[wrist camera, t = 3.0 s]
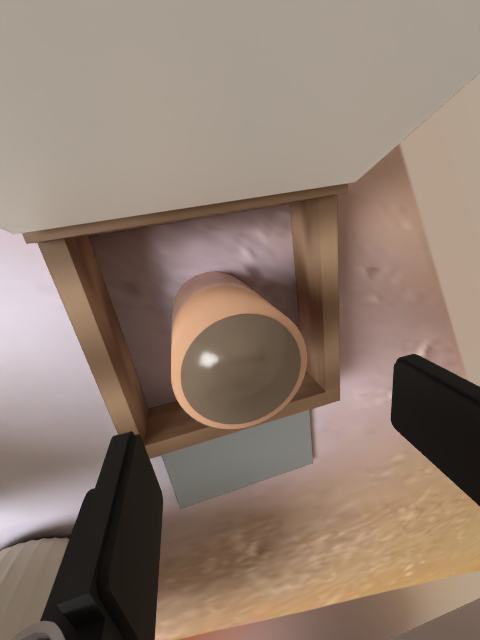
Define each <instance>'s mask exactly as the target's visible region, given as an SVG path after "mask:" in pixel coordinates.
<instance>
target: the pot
mask: <svg viewBox="0 0 480 640" xmlns="http://www.w3.org/2000/svg"><path fill="white" fill-rule="evenodd" d="M306 367H307V350H306V345H305V342H304V339H303V337H302V334H301V332H300V331H299V329H298V328H297V326H296V325H295V324H294V323H293V322H292V321H291V320H290V319H289V318H287V317H286V316H285V315H284V314H282V313H281V312H280V311H279V310H277V309H276V308H275V307H274V306H272V305H271V304H270V303H268V302H267V301H266V300H265V299H263V298H262V297H261V296H259V295H258V294H257V293H256V292H254V291H253V290H252V289H250V288H249V287H248V286H247V285H245V284H244V283H243V282H242V281H240V280H239V279H238V278H236V277H234V276H232V275H230V274H227V273H223V272H206V273H203V274H200V275H197V276H195V277H193V278H192V279H190V280H189V281H187V282H186V283H185V284H184V285H183V286H182V287H181V289H180V290H179V291H178V293H177V295H176V297H175V299H174V303H173V307H172V343H171V383H172V388H173V391H174V394H175V397H176V399H177V401H178V402H179V404H180V406H181V407H182V408H183V409H184V410H185V412H187V413H188V414H189V415H190V416H191V417H192V418H194V419H195V420H197V421H199V422H201V423H203V424H205V425H208V426H211V427H215V428H221V429H239V428H245V427H249V426H253V425H256V424H258V423H261V422H263V421H265V420H267V419H269V418H271V417H272V416H274V415H275V414H277V413H278V412H279V411H281V410H282V409H283V408H284V407H285V406H286V405H287V404H288V403H289V402H290V401H291V400H292V398H293V397H294V396H295V394H296V393H297V391H298V389H299V388H300V386H301V384H302V381H303V379H304V376H305V372H306Z"/></svg>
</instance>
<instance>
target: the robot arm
mask: <svg viewBox="0 0 480 640" xmlns="http://www.w3.org/2000/svg"><path fill="white" fill-rule="evenodd" d="M391 422H392V425H393V427H394V428H395V429H396V430H397V431H398V432H399V433H400V434H401V435H402V436H403V437H405V438H406V439H407V440H408V441H409V442H410V443H411V444H412V445H413V446H414V447H415V448H417V449H418V450H419V451H420V452H421V453H422V454H423V455H424V456H425V457H426V458H427V459H429V460H430V461H431V462H432V463H433V464H434V465H435V466H436V467H437V468H438V469H440V470H441V471H442V472H443V473H444V474H445V475H446V476H447V477H448V478H449V479H450V480H452V481H453V482H454V483H455V484H456V485H457V486H458V487H459V488H460V489H461V490H463V491H464V492H465V493H466V494H467V495H468V496H469V497H470V498H471V499H472V500H473V501H475V502H476V503H477V504H478V505H479V506H480V387H479V386H477V385H475V384H473V383H471V382H469V381H467V380H465V379H463V378H461V377H459V376H458V375H456V374H454V373H452V372H450V371H448V370H446V369H444V368H442V367H440V366H438V365H436V364H434V363H432V362H430V361H428V360H427V359H425V358H423V357H421V356H419V355H416V354H411V355H407V356H404V357H400V358H398V359H397V361H396V363H395V364H394V373H393V390H392V407H391ZM162 512H163V496H162V492H161V489H160V486H159V483H158V481H157V478H156V475H155V473H154V470H153V467H152V464H151V462H150V459H149V456H148V454H147V451H146V448H145V446H144V443H143V440H142V438H141V435H140V434H137V435H135V434H134V433H133V432H132V431H130V432H127V433H123V434H119V435H116V436H113V437H112V439H111V442H110V445H109V448H108V451H107V454H106V457H105V460H104V463H103V466H102V469H101V472H100V475H99V478H98V481H97V484H96V487H95V489H91V490H89V491H88V493H87V494H86V496H85V498H84V500H83V503H82V506H81V509H80V511H79V514H78V517H77V520H76V523H75V525H74V528H73V531H72V534H71V536H70V539H69V542H68V545H67V548H66V550H65V553H64V556H63V559H62V561H61V564H60V567H59V570H58V573H57V575H56V578H55V581H54V584H53V586H52V589H51V592H50V595H49V598H48V600H47V603H46V606H45V609H44V611H43V614H42V617H41V620H40V622H38V623H34V624H32V625H30V626H29V627H27V628H25V629H24V630H22V631H20V632H19V633H18V634H17V635H15V636H14V637H13V638H12V639H11V640H155V624H156V608H157V592H158V576H159V560H160V544H161V528H162ZM389 640H480V598H479V599H477V600H475V601H473V602H470V603H468V604H466V605H464V606H462V607H459V608H457V609H455V610H453V611H451V612H448V613H446V614H444V615H442V616H440V617H438V618H436V619H433V620H431V621H429V622H426V623H424V624H422V625H420V626H418V627H416V628H413V629H412V630H409V631H407V632H405V633H402V634H400V635H398V636H396V637H394V638H392V639H389Z"/></svg>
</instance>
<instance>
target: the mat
mask: <svg viewBox="0 0 480 640" xmlns="http://www.w3.org/2000/svg"><path fill="white" fill-rule="evenodd" d="M162 458H163V461H164V464H165V466H166V469H167V472H168V475H169V478H170V480H171V483H172V486H173V489H174V492H175V494H176V497H177V500H178V503H179V506H180V509H182V508H184V507H187V506H190V505H193V504H196V503H199V502H202V501H205V500H208V499H210V498H213V497H216V496H219V495H222V494H225V493H228V492H231V491H234V490H237V489H239V488H242V487H245V486H248V485H251V484H254V483H257V482H260V481H263V480H265V479H268V478H271V477H274V476H277V475H280V474H283V473H286V472H289V471H292V470H294V469H297V468H300V467H303V466H306V465H309V464H312V463H313V457H312V442H311V428H310V413H309V410H307V411H303V412H300V413H297V414H294V415H290V416H287V417H284V418H281V419H277V420H274V421H271V422H268V423H264V424H261V425H258V426H255V427H251V428H248V429H245V430H242V431H238V432H235V433H232V434H229V435H225V436H222V437H219V438H216V439H212V440H209V441H206V442H203V443H199V444H196V445H193V446H190V447H186V448H183V449H180V450H177V451H173V452H170V453H167V454H163V455H162Z"/></svg>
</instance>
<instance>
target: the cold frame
mask: <svg viewBox="0 0 480 640" xmlns="http://www.w3.org/2000/svg"><path fill="white" fill-rule="evenodd" d="M343 193H347V184H340V185H333V186H327V187H320V188H314V189H307V190H301V191H294V192H288V193H281V194H275V195H268V196H262V197H255V198H248V199H242V200H235V201H229V202H222V203H216V204H209V205H203V206H196V207H190V208H183V209H176V210H170V211H163V212H157V213H150V214H144V215H137V216H131V217H124V218H118V219H111V220H105V221H98V222H91V223H85V224H78V225H72V226H65V227H59V228H52V229H46V230H39V231H33V232H26V233H22V234H23V237H24V239H25V241H26V244H29V243H38V246H39V248H40V250H41V253H42V255H43V257H44V260H45V262H46V265H47V267H48V269H49V272H50V274H51V276H52V279H53V281H54V283H55V286H56V288H57V291H58V293H59V295H60V298H61V300H62V302H63V305H64V307H65V309H66V312H67V314H68V317H69V319H70V321H71V324H72V326H73V328H74V331H75V333H76V336H77V338H78V340H79V343H80V345H81V347H82V350H83V352H84V354H85V357H86V359H87V362H88V364H89V366H90V369H91V371H92V373H93V376H94V378H95V380H96V383H97V385H98V388H99V390H100V392H101V395H102V397H103V399H104V402H105V404H106V407H107V409H108V411H109V414H110V416H111V418H112V421H113V423H114V425H115V428H116V430H117V433H118V435H119V434H123V433H127V432H130V431H132V432H133V433H134V434H135V435H137V434H140V435H141V438H142V440H143V443H144V446H145V448H146V451H147V454H148V456H149V459H150V458H154V457H157V456H160V455H163V454H167V453H170V452H173V451H177V450H180V449H183V448H186V447H190V446H193V445H196V444H199V443H203V442H206V441H209V440H212V439H216V438H219V437H222V436H225V435H229V434H232V433H235V432H238V431H242V430H245V429H248V428H251V427H255V426H258V425H261V424H264V423H268V422H271V421H274V420H277V419H281V418H284V417H287V416H290V415H294V414H297V413H300V412H303V411H307V410H310V409H313V408H316V407H320V406H323V405H326V404H330V403H333V402H336V401H339V400H340V365H339V295H338V226H337V195H338V194H343ZM285 204H290V208H291V221H292V234H293V248H294V261H295V274H296V288H297V301H298V314H299V328H300V332H301V334H302V337H303V339H304V342H305V345H306V350H307V367H306V372H305V376H304V379H303V381H302V384H301V386H300V388H299V389H298V391H297V393H296V394H295V396H294V397H293V398H292V400H291V401H290V402H289V403H288V404H287V405H286V406H285V407H284V408H283V409H282V410H281V411H279V412H278V413H277V414H275V415H274V416H272V417H271V418H269V419H267V420H265V421H263V422H261V423H258V424H256V425H253V426H249V427H245V428H239V429H221V428H215V427H211V426H208V425H205V424H203V423H201V422H199V421H197V420H195V419H194V418H192V417H191V416H190V415H189V414H188V413H187V412H185V410H184V409H183V408H182V407H181V406H180V404H179V402H178V401H177V402H173V403H169V404H166V405H162V406H158V407H155V408H151V409H149V408H148V406H147V403H146V400H145V397H144V394H143V391H142V388H141V386H140V383H139V380H138V377H137V374H136V371H135V368H134V366H133V363H132V360H131V357H130V354H129V351H128V348H127V346H126V343H125V340H124V337H123V334H122V331H121V328H120V326H119V323H118V320H117V317H116V314H115V311H114V308H113V306H112V303H111V300H110V297H109V294H108V291H107V289H106V286H105V283H104V280H103V277H102V274H101V271H100V269H99V266H98V263H97V260H96V257H95V254H94V251H93V249H92V246H91V243H90V240H89V237H88V236H92V235H98V234H104V233H111V232H117V231H123V230H129V229H135V228H142V227H148V226H154V225H160V224H167V223H173V222H179V221H185V220H191V219H198V218H204V217H210V216H216V215H222V214H229V213H235V212H241V211H247V210H254V209H260V208H266V207H272V206H278V205H285Z"/></svg>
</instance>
